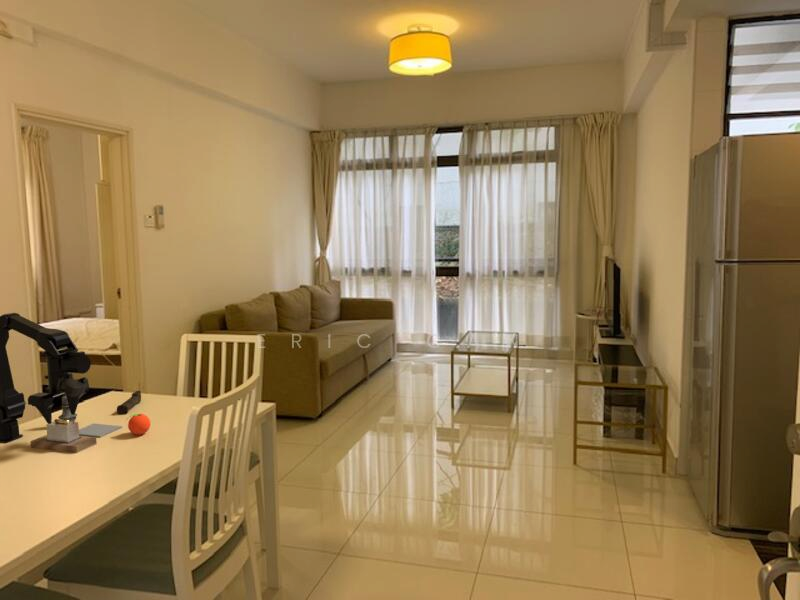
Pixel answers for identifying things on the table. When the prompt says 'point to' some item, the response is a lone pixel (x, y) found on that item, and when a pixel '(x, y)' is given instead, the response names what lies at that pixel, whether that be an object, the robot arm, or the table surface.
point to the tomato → (139, 424)
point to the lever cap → (62, 430)
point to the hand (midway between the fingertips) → (61, 419)
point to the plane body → (64, 444)
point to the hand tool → (129, 403)
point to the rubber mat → (98, 430)
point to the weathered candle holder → (66, 411)
